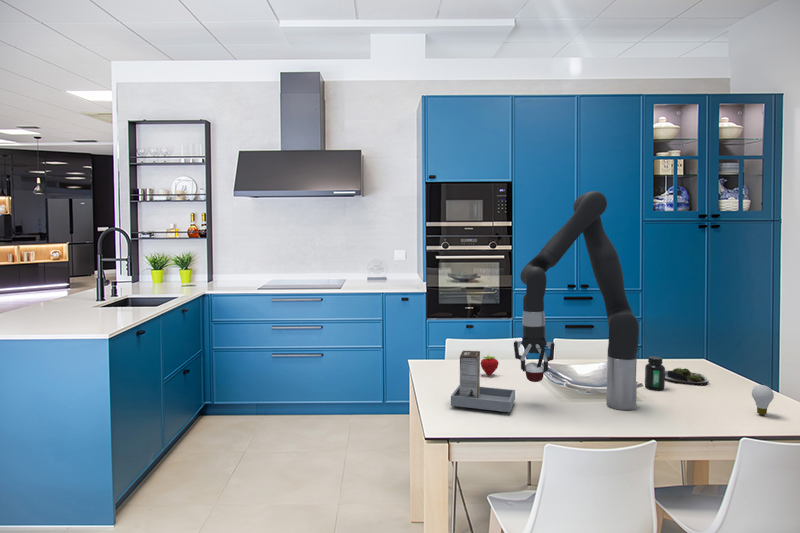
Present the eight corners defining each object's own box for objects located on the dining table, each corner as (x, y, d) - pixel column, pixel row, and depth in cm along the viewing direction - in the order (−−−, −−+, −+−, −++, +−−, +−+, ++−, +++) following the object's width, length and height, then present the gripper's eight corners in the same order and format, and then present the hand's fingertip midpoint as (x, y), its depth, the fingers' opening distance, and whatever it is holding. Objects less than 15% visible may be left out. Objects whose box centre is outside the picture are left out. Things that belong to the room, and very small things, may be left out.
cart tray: (515, 402, 180) (515, 389, 180) (510, 415, 167) (510, 402, 167) (459, 396, 187) (459, 384, 187) (450, 409, 174) (450, 396, 173)
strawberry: (500, 377, 211) (500, 354, 211) (482, 378, 211) (482, 354, 210) (496, 373, 217) (496, 350, 217) (479, 374, 217) (479, 351, 216)
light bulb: (751, 411, 171) (752, 381, 171) (773, 414, 168) (774, 385, 167) (749, 415, 167) (751, 385, 166) (772, 419, 163) (773, 389, 163)
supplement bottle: (659, 392, 192) (660, 361, 191) (641, 388, 197) (642, 357, 196) (667, 388, 196) (668, 358, 195) (649, 384, 201) (650, 354, 201)
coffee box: (461, 394, 184) (462, 349, 183) (479, 395, 182) (480, 350, 181) (459, 402, 175) (459, 355, 174) (478, 403, 173) (478, 356, 172)
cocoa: (522, 379, 182) (520, 345, 181) (539, 377, 182) (537, 344, 182) (531, 385, 172) (528, 350, 172) (549, 383, 172) (546, 348, 172)
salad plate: (656, 371, 223) (656, 360, 223) (703, 375, 216) (703, 364, 216) (659, 382, 205) (659, 371, 205) (710, 388, 198) (710, 376, 198)
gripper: (555, 322, 178) (556, 369, 178) (513, 321, 182) (514, 367, 183) (555, 326, 170) (555, 375, 171) (511, 325, 175) (512, 373, 176)
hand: (534, 371), depth 177 cm, fingers closed on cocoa, 6 cm apart
